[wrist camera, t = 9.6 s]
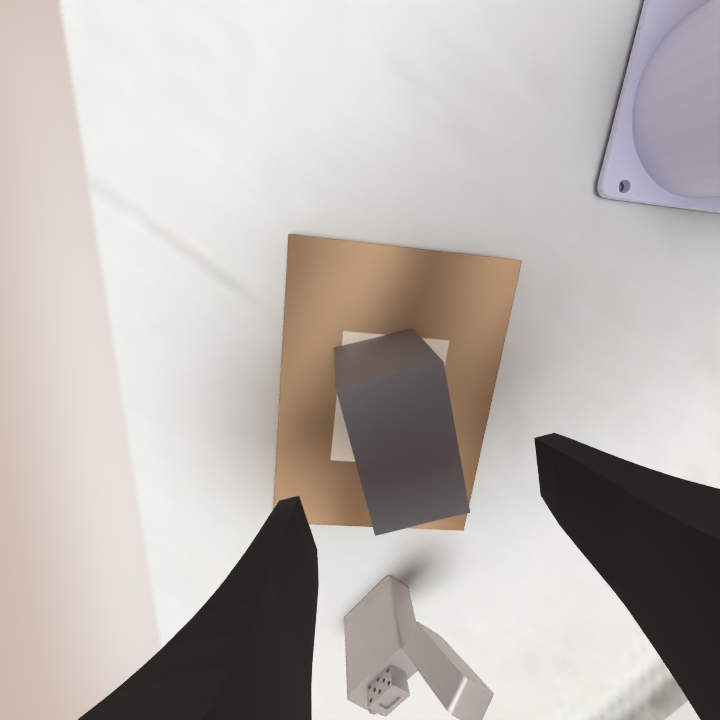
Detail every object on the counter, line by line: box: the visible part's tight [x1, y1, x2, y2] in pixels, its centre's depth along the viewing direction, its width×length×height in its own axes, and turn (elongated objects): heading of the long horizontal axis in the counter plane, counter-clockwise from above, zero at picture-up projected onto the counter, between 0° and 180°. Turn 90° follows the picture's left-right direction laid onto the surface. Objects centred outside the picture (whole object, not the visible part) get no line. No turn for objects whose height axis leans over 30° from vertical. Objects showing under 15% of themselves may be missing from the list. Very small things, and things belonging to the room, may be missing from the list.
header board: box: [273, 234, 522, 530], centre depth 18 cm, size 10×14×3 cm
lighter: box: [344, 576, 494, 720], centre depth 20 cm, size 7×2×8 cm, turn 140°
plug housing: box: [334, 329, 470, 536], centre depth 16 cm, size 4×6×5 cm, turn 13°
